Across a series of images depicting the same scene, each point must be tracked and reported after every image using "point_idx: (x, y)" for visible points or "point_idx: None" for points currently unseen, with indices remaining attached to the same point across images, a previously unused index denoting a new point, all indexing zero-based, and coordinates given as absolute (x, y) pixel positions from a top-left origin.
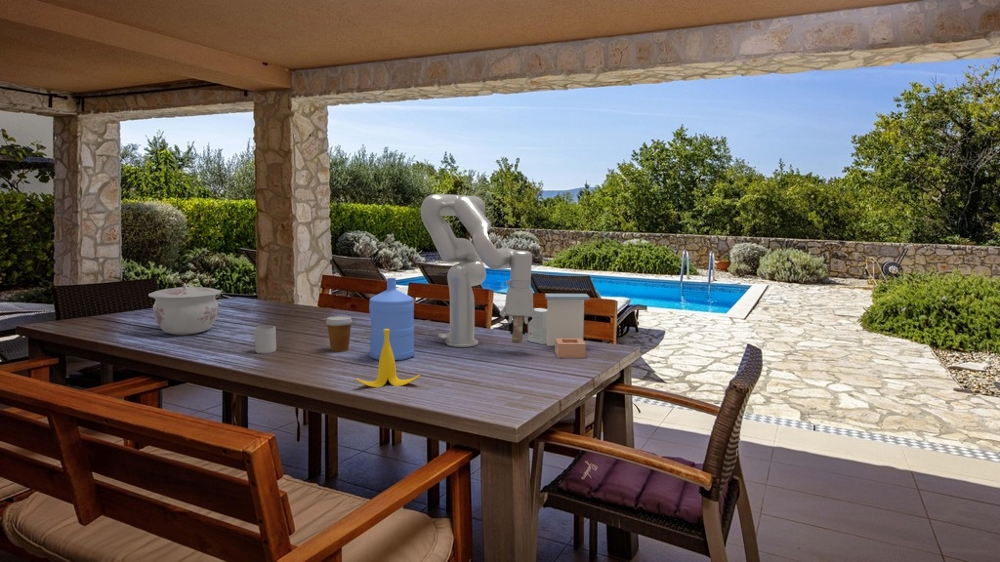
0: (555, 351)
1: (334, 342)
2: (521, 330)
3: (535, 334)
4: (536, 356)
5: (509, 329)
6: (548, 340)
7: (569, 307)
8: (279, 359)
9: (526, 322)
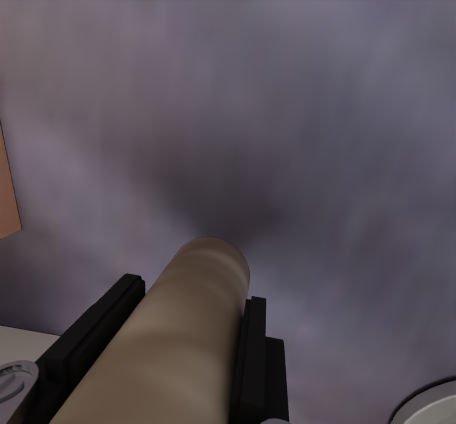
0: (5, 194)
1: None
2: (142, 304)
3: None
4: (115, 117)
5: (274, 349)
6: (38, 357)
7: None
8: None
9: (7, 388)
